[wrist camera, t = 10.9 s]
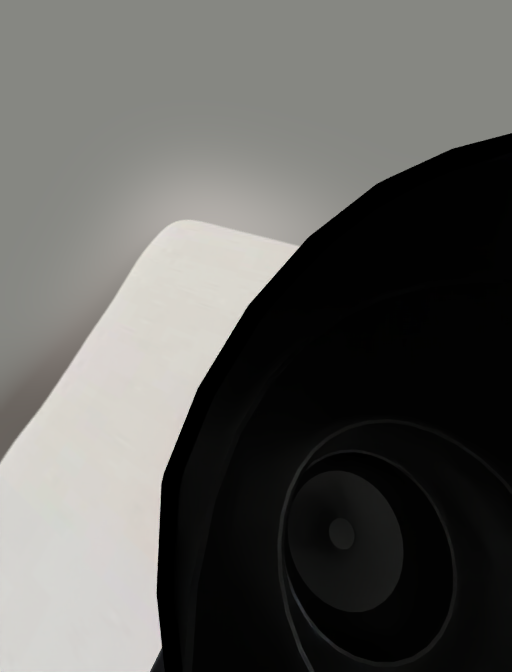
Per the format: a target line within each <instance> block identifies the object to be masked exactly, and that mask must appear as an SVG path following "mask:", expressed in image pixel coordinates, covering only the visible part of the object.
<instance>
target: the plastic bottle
mask: <svg viewBox="0 0 512 672" xmlns="http://www.w3.org/2000/svg"><path fill="white" fill-rule="evenodd" d="M157 602H158V612H159V621H160V631H161V640H162V650H163V660H164V669H165V672H512V133H511V134H507V135H503V136H500V137H496V138H492V139H488V140H484V141H480V142H476V143H473V144H469V145H465V146H462V147H458V148H454V149H451V150H449V151H447V152H444V153H442V154H440V155H438V156H436V157H433V158H431V159H429V160H427V161H425V162H422V163H420V164H418V165H416V166H414V167H412V168H409V169H407V170H405V171H403V172H401V173H399V174H396V175H394V176H392V177H390V178H388V179H386V180H384V181H382V182H380V183H378V184H376V185H375V186H373V187H372V188H371V189H370V190H368V191H367V192H366V193H365V194H363V195H362V196H361V197H360V198H358V199H357V200H356V201H354V202H353V203H352V204H350V205H349V206H348V207H347V208H345V209H344V210H343V211H341V212H340V213H339V214H338V215H336V216H335V217H334V218H332V219H331V220H330V221H329V222H327V223H326V224H325V225H324V226H322V227H321V228H320V229H319V230H317V231H316V232H315V233H313V234H312V235H311V236H309V237H308V238H307V239H306V241H305V242H304V243H303V244H302V245H301V246H300V247H299V249H298V250H297V251H296V252H295V253H294V254H293V255H292V256H291V258H290V259H289V260H288V261H287V262H286V263H285V264H284V266H283V267H282V268H281V269H280V270H279V271H278V272H277V273H276V275H275V276H274V277H273V278H272V279H271V280H270V281H269V283H268V284H267V285H266V286H265V287H264V288H263V289H262V291H261V292H260V293H259V294H258V295H257V296H256V297H255V298H254V300H253V301H252V302H251V303H250V304H249V305H248V307H247V308H246V310H245V312H244V313H243V315H242V317H241V318H240V320H239V322H238V323H237V325H236V326H235V328H234V330H233V331H232V333H231V335H230V336H229V338H228V340H227V341H226V343H225V345H224V346H223V348H222V350H221V351H220V353H219V354H218V356H217V358H216V359H215V361H214V363H213V364H212V366H211V368H210V369H209V371H208V373H207V374H206V376H205V377H204V379H203V381H202V382H201V384H200V386H199V387H198V389H197V392H196V394H195V397H194V399H193V402H192V404H191V407H190V409H189V412H188V414H187V417H186V419H185V422H184V424H183V427H182V430H181V432H180V435H179V437H178V440H177V442H176V445H175V447H174V450H173V452H172V455H171V457H170V460H169V462H168V465H167V467H166V470H165V472H164V475H163V480H162V484H161V506H160V529H159V551H158V573H157Z"/></svg>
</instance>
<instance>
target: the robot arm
mask: <svg viewBox="0 0 512 672" xmlns="http://www.w3.org/2000/svg"><path fill="white" fill-rule="evenodd" d="M150 672H165V669H164V660H163V650H162V649H161V651H160V653H159V655H158V657H157V659H156V661H155V663H154V665H153V667H152V669H151V671H150Z"/></svg>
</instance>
